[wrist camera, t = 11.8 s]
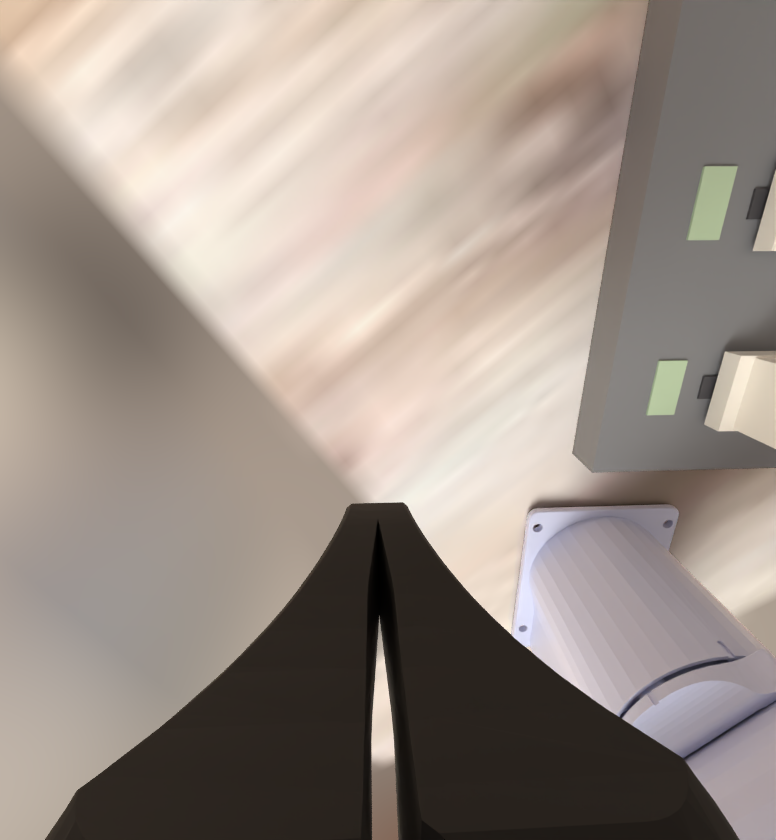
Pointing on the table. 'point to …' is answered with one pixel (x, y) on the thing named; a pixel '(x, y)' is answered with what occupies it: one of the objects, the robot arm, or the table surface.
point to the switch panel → (686, 243)
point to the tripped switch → (768, 223)
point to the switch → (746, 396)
